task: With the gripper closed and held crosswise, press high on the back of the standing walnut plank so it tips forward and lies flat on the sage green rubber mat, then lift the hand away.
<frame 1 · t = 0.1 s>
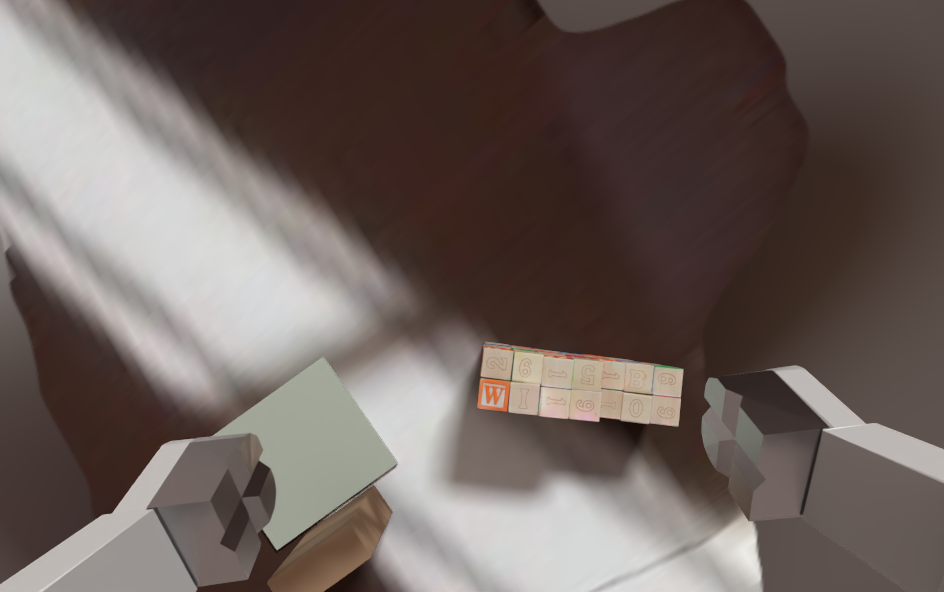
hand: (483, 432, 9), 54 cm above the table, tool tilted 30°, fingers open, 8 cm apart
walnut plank: (350, 522, 63), on the table
stack of blocks: (566, 376, 63), on the table
mat: (301, 451, 63), on the table
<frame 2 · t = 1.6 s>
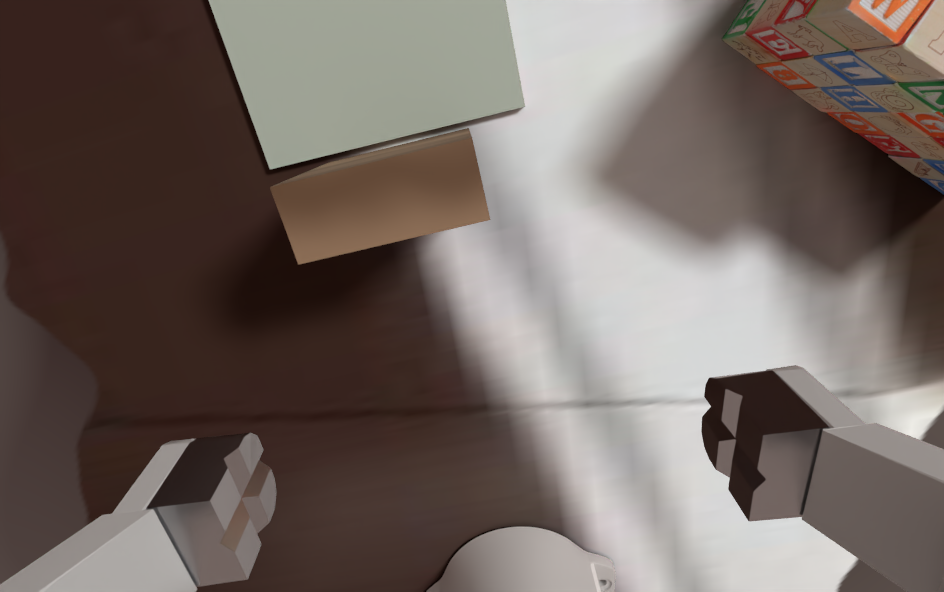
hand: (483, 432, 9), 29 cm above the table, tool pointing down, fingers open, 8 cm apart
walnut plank: (406, 173, 36), on the table
stack of blocks: (866, 81, 35), on the table
mat: (361, 10, 33), on the table
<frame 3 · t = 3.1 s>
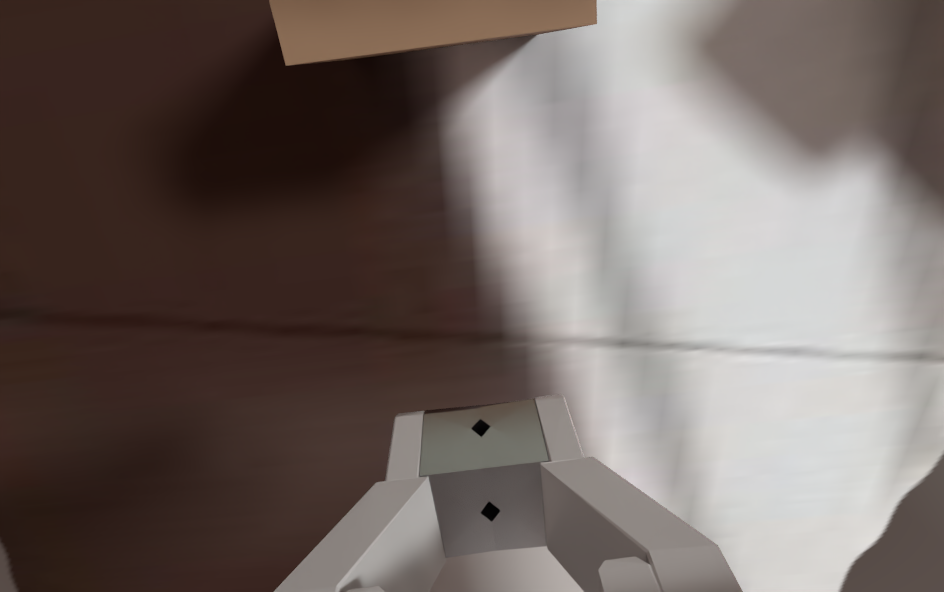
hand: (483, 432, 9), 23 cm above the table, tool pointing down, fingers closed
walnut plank: (438, 4, 26), on the table
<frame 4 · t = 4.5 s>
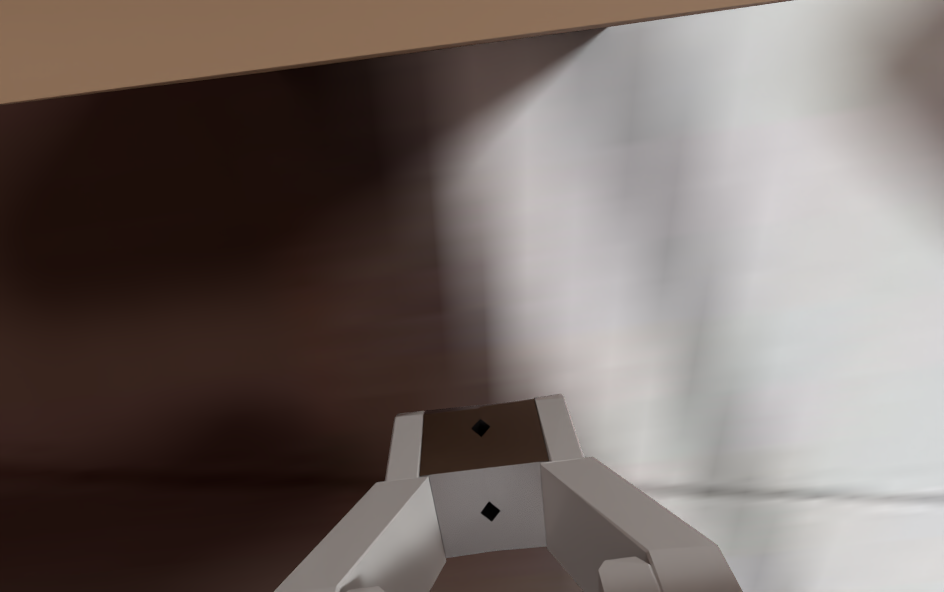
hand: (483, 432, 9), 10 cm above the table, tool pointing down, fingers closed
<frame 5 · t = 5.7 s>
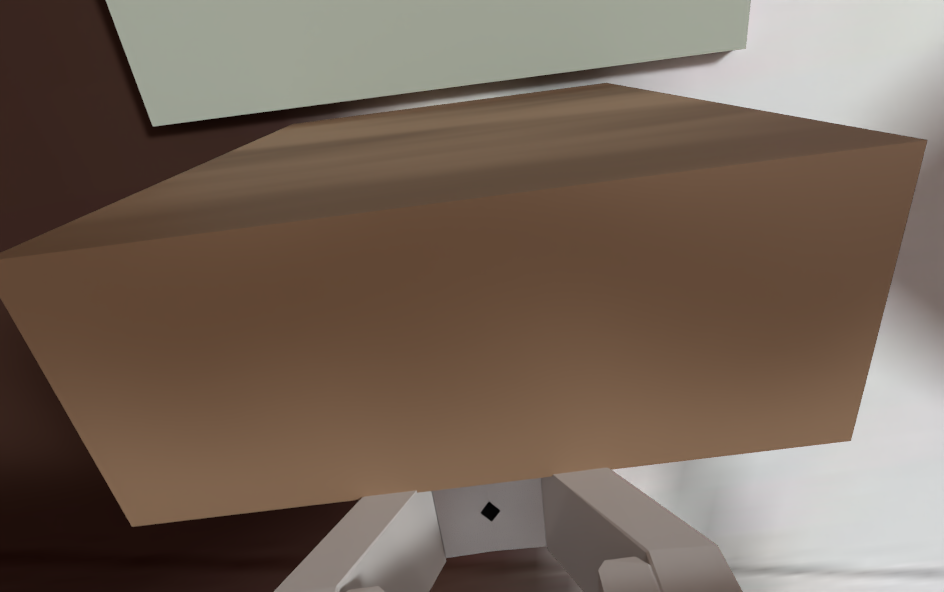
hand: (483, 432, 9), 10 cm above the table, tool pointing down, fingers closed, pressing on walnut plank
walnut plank: (457, 166, 17), on the table, touching gripper
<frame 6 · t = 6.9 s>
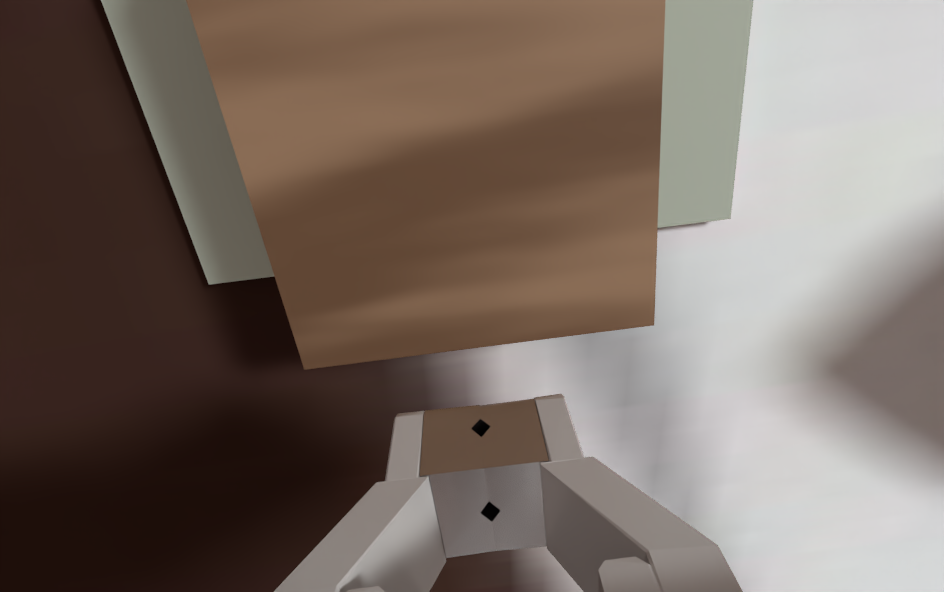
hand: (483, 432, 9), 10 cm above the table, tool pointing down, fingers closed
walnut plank: (474, 314, 16), point 3 cm above the table, tilted 90°, touching mat
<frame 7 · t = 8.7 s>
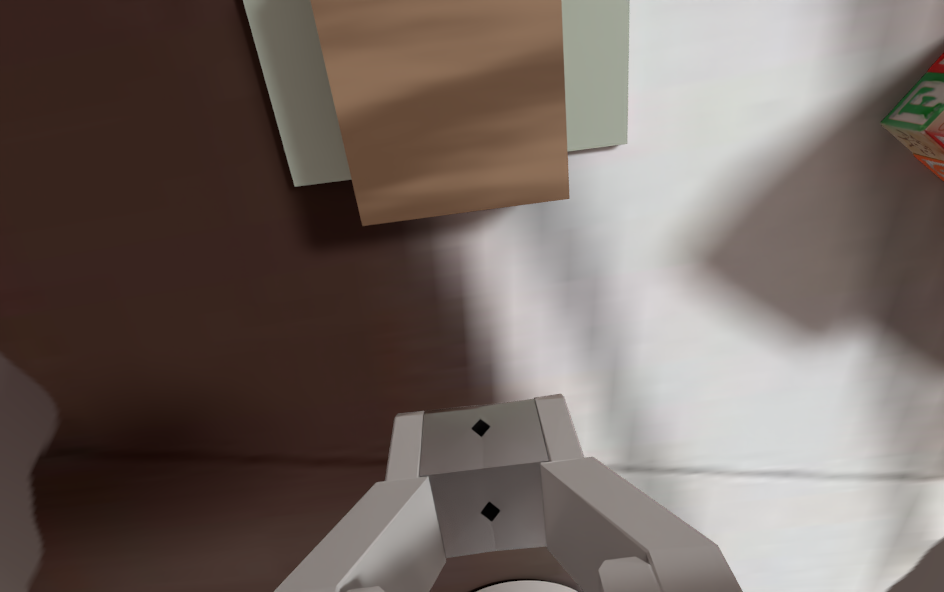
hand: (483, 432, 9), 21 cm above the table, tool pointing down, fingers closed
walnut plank: (464, 200, 26), point 3 cm above the table, tilted 90°, touching mat
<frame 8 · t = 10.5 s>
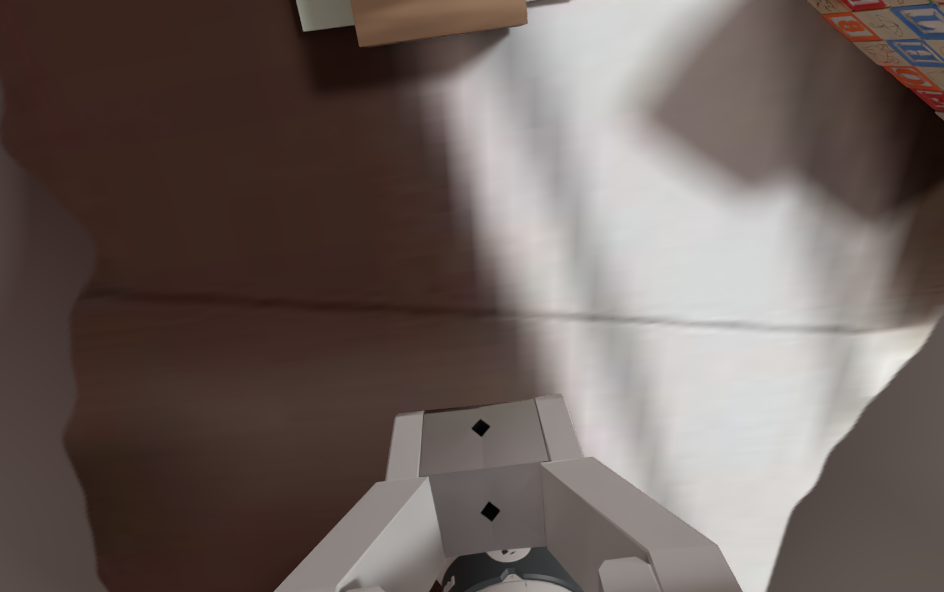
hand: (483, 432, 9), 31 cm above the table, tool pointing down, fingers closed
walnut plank: (443, 36, 32), point 3 cm above the table, tilted 90°, touching mat
stack of blocks: (924, 36, 36), on the table
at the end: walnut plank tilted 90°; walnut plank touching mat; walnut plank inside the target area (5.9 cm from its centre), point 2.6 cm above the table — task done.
